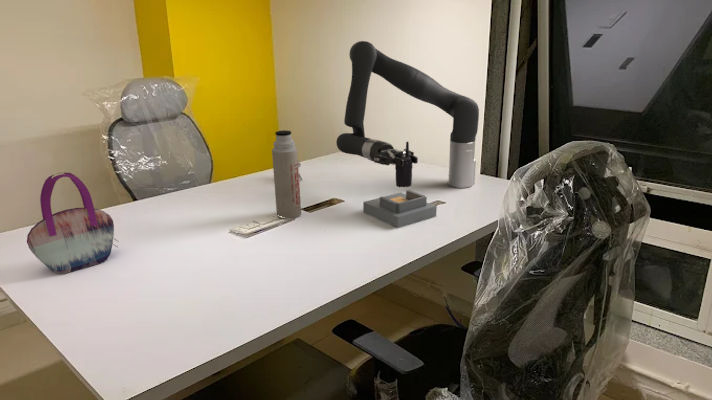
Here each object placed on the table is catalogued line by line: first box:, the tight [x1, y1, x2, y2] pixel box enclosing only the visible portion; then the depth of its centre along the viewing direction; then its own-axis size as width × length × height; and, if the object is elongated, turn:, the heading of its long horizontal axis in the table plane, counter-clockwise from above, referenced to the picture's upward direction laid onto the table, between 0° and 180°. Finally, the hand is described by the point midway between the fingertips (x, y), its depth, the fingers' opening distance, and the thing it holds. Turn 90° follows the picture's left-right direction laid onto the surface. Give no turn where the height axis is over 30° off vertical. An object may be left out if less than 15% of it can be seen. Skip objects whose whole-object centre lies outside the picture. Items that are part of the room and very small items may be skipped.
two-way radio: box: [394, 141, 413, 188], centre depth 165 cm, size 6×4×15 cm
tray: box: [362, 189, 438, 229], centre depth 167 cm, size 16×18×6 cm
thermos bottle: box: [271, 129, 302, 220], centre depth 165 cm, size 8×8×28 cm
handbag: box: [26, 172, 118, 274], centre depth 134 cm, size 21×10×25 cm, turn 131°
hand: (409, 161), depth 162 cm, fingers closed on two-way radio, 5 cm apart
